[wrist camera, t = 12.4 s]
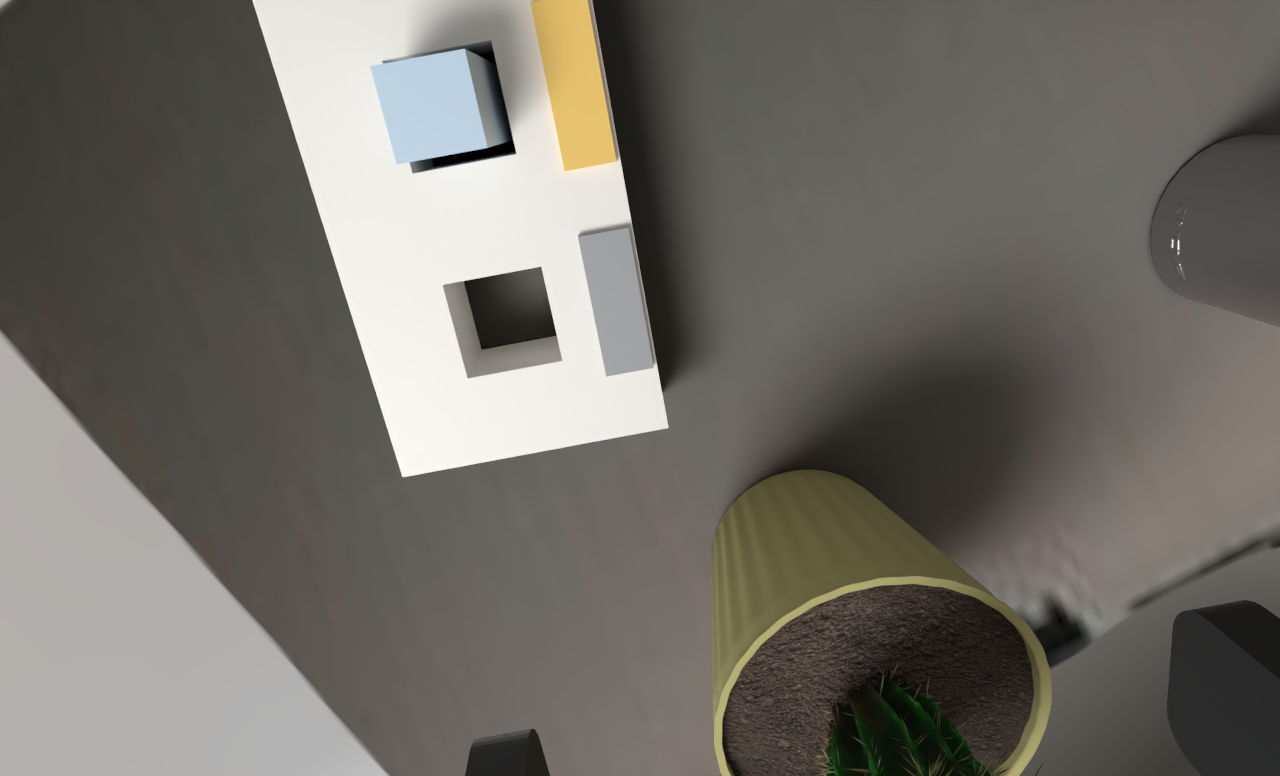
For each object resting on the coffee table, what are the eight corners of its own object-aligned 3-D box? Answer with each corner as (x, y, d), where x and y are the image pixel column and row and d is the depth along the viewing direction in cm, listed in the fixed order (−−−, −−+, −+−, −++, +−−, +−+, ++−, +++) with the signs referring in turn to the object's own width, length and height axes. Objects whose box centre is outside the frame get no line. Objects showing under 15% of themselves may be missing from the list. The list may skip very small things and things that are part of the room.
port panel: (576, -74, 36) (573, -104, 31) (660, 394, 44) (669, 430, 39) (286, -19, 36) (236, -40, 31) (422, 439, 44) (400, 480, 39)
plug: (496, 65, 38) (464, 48, 29) (512, 140, 39) (487, 147, 30) (425, 78, 38) (369, 66, 29) (443, 152, 39) (396, 164, 30)
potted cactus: (895, 653, 52) (1261, 1303, 23) (668, 647, 50) (764, 1325, 22) (943, 443, 47) (1484, 950, 18) (692, 430, 45) (855, 951, 17)
